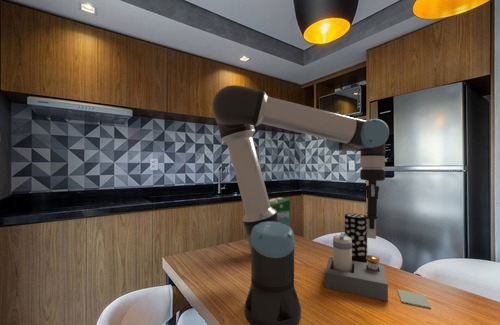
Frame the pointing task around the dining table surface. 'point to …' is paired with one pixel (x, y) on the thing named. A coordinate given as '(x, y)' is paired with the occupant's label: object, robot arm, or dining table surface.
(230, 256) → the dining table surface
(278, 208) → the milk carton
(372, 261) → the gold lidded jar
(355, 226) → the white-spotted black cylinder
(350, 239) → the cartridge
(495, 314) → the dining table surface
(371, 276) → the block
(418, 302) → the mat
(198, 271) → the dining table surface
